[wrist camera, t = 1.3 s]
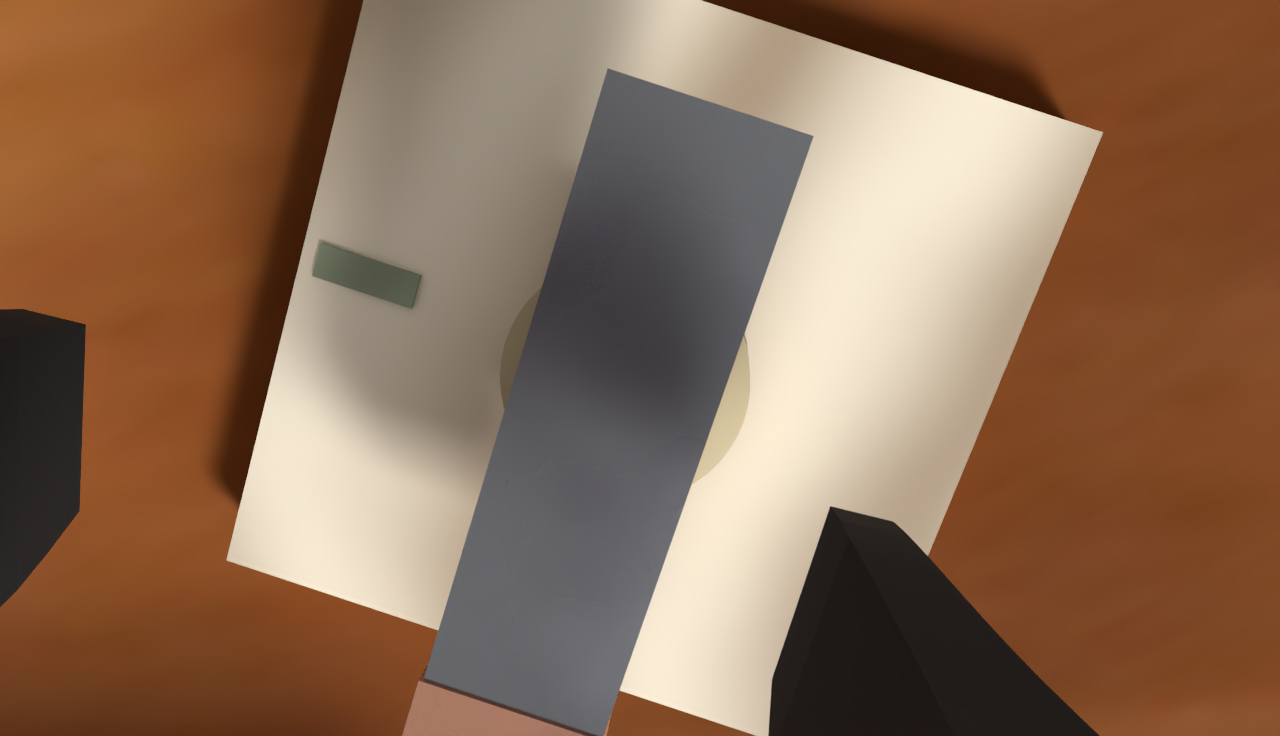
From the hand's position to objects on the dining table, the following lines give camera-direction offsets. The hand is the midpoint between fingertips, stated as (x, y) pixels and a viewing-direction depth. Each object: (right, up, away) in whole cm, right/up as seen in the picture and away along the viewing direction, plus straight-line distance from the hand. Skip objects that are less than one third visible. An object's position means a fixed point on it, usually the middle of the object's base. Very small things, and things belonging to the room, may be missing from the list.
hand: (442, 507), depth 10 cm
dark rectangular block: (+2, +1, +7) cm, 7 cm away
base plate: (+2, +2, +10) cm, 10 cm away
